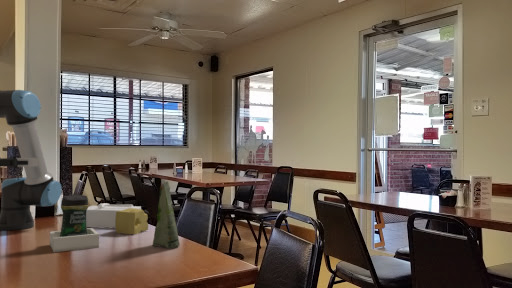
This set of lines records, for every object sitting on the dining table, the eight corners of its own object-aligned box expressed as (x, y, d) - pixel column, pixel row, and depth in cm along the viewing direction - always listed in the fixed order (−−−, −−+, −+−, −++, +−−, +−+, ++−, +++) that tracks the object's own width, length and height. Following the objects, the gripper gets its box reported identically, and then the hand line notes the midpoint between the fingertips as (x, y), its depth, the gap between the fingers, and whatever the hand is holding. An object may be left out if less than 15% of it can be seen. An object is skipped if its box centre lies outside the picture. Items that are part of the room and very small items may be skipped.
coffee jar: (62, 247, 149) (63, 197, 149) (58, 243, 156) (59, 194, 156) (89, 244, 155) (90, 195, 155) (84, 240, 161) (85, 193, 162)
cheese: (148, 230, 186) (148, 209, 186) (134, 235, 176) (134, 212, 176) (129, 229, 189) (129, 207, 189) (114, 233, 179) (114, 210, 179)
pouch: (161, 251, 149) (163, 183, 149) (143, 246, 157) (145, 181, 157) (186, 246, 157) (187, 181, 157) (168, 241, 165) (169, 179, 165)
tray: (49, 244, 157) (50, 231, 157) (92, 240, 165) (92, 228, 165) (53, 252, 145) (53, 238, 146) (98, 247, 154) (99, 234, 154)
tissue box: (92, 222, 206) (92, 201, 207) (140, 223, 205) (141, 201, 206) (78, 228, 192) (79, 204, 192) (130, 229, 191) (131, 205, 191)
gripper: (-30, 171, 152) (34, 170, 163) (-36, 175, 130) (39, 173, 142) (-30, 151, 152) (35, 151, 163) (-35, 151, 131) (40, 152, 142)
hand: (37, 162), depth 152 cm, fingers open, 13 cm apart
